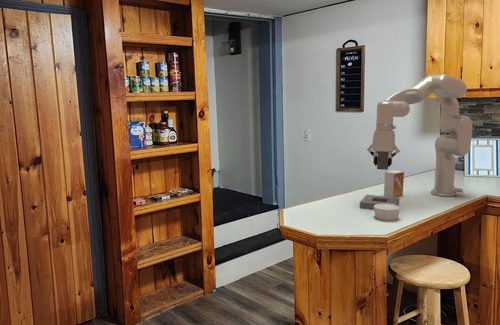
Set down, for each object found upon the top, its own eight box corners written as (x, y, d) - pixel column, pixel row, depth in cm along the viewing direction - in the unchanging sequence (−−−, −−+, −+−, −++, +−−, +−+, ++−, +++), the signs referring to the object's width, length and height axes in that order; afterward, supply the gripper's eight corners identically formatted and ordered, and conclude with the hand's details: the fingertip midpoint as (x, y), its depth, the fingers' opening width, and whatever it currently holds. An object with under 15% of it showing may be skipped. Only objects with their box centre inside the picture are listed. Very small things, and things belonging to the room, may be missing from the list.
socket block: (399, 203, 216) (399, 197, 216) (394, 211, 202) (395, 204, 202) (366, 200, 223) (366, 194, 223) (359, 208, 209) (360, 201, 209)
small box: (393, 197, 228) (394, 173, 226) (383, 195, 233) (384, 171, 231) (403, 195, 232) (404, 171, 230) (393, 193, 238) (394, 169, 235)
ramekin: (368, 218, 193) (369, 206, 193) (381, 213, 201) (381, 201, 200) (392, 223, 186) (392, 211, 185) (404, 217, 193) (404, 206, 192)
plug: (387, 167, 212) (388, 150, 211) (387, 169, 207) (388, 151, 206) (376, 167, 213) (377, 150, 212) (376, 169, 209) (377, 151, 207)
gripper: (404, 128, 206) (402, 165, 209) (367, 126, 214) (365, 163, 217) (402, 129, 200) (400, 168, 203) (364, 128, 207) (362, 165, 210)
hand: (382, 165), depth 209 cm, fingers closed on plug, 5 cm apart
